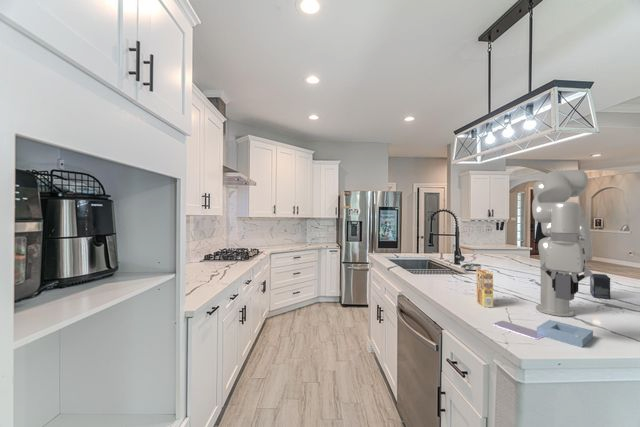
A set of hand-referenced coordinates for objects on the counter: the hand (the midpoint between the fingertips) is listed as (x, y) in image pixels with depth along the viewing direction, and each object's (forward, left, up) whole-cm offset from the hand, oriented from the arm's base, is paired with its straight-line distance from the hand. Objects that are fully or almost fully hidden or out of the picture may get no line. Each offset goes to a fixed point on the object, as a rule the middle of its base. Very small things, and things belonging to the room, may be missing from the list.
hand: (564, 291), depth 99 cm
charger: (0, 0, -2) cm, 2 cm away
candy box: (-13, -33, -16) cm, 39 cm away
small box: (-74, -6, -16) cm, 76 cm away
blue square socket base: (0, 0, -15) cm, 15 cm away
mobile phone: (+7, -12, -16) cm, 21 cm away
